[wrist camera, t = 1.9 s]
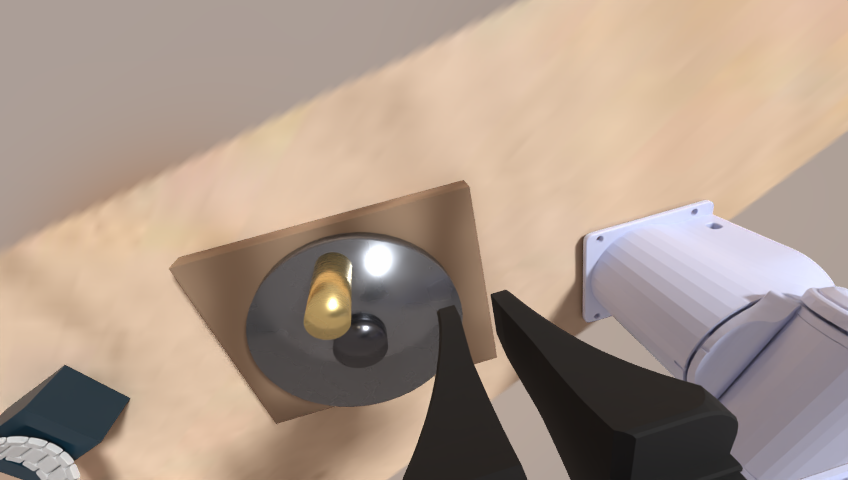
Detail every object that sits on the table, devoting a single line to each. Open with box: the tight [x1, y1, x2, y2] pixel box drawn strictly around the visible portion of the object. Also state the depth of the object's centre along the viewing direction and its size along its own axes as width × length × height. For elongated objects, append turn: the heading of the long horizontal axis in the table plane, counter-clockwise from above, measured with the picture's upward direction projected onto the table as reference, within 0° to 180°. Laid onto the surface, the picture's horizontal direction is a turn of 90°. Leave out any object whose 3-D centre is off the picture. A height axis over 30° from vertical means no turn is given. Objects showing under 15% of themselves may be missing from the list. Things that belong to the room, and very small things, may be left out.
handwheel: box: [246, 232, 463, 407], centre depth 20 cm, size 13×13×6 cm
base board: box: [169, 180, 497, 424], centre depth 23 cm, size 17×14×1 cm
